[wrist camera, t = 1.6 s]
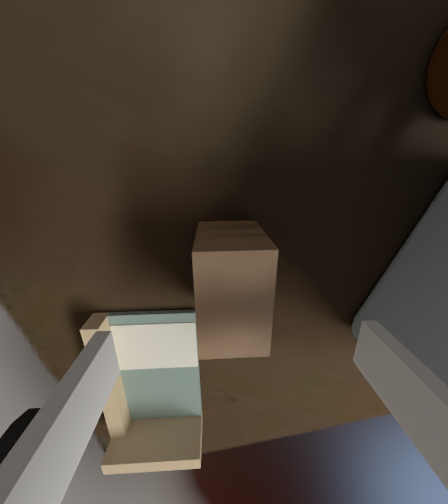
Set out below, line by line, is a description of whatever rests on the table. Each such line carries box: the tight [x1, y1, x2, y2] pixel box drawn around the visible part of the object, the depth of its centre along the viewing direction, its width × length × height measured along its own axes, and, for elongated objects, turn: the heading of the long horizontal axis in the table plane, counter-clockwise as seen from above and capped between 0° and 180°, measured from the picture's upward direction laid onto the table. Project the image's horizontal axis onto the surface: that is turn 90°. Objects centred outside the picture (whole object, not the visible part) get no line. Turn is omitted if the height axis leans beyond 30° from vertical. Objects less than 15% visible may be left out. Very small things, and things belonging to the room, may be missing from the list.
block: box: [192, 221, 279, 360], centre depth 18 cm, size 8×5×8 cm, turn 0°
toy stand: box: [80, 309, 202, 475], centre depth 23 cm, size 17×10×5 cm, turn 0°
